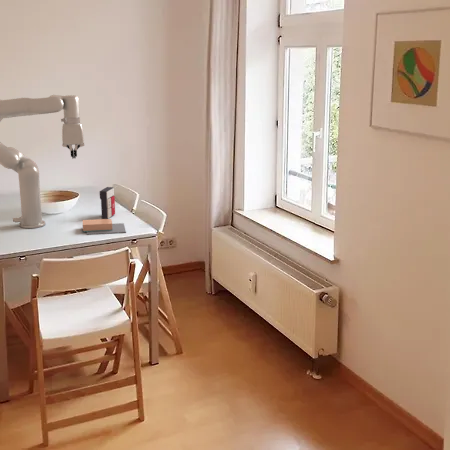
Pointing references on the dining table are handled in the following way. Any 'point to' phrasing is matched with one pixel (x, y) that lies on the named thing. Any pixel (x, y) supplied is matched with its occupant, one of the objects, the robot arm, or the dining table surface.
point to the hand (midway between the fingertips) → (74, 158)
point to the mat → (115, 229)
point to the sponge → (97, 225)
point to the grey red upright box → (107, 202)
